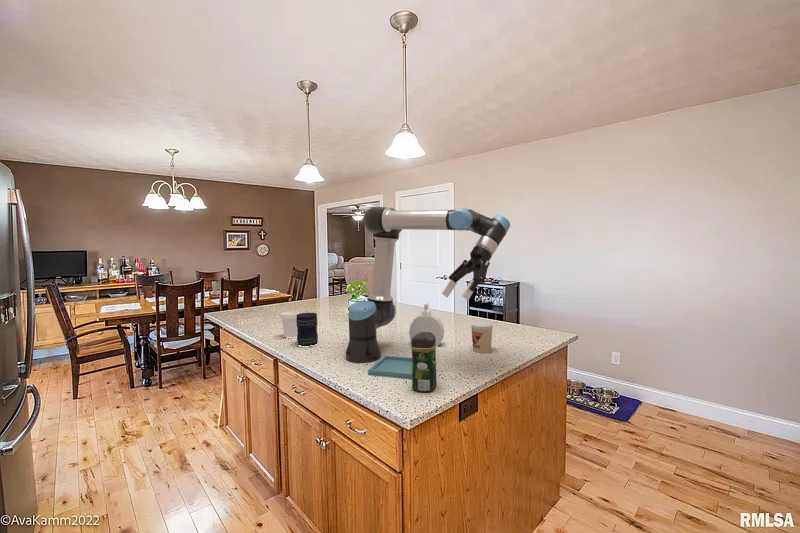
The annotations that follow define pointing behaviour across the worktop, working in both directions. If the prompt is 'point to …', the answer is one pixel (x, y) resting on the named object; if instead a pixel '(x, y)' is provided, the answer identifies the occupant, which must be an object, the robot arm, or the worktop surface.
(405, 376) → the tray
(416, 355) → the coffee jar
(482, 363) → the worktop surface
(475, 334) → the coffee cup
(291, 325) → the foam cup
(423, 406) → the worktop surface
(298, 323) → the storage jar
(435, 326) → the soap bottle
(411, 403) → the worktop surface
